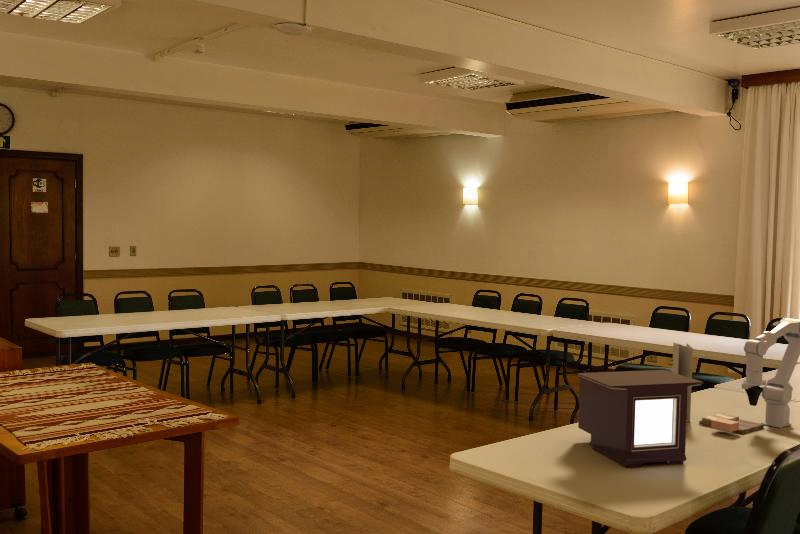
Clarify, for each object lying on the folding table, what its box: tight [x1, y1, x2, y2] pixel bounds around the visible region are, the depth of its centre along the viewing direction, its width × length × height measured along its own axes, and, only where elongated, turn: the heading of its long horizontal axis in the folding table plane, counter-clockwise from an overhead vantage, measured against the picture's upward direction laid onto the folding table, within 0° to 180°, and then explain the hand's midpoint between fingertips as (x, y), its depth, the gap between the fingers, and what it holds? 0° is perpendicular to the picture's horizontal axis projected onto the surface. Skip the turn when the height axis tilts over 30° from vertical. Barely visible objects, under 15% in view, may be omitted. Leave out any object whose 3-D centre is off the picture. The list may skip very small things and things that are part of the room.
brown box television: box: [576, 369, 705, 469], centre depth 273 cm, size 35×35×27 cm
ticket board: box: [698, 412, 765, 435], centre depth 311 cm, size 16×18×3 cm
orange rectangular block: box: [710, 418, 739, 433], centre depth 300 cm, size 6×8×3 cm
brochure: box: [671, 342, 694, 423], centre depth 323 cm, size 14×6×30 cm, turn 168°
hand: (753, 405), depth 307 cm, fingers closed
